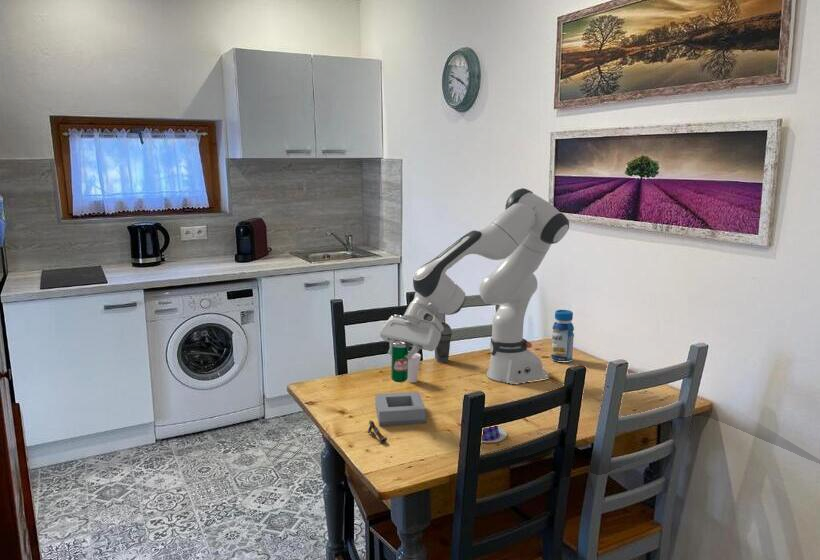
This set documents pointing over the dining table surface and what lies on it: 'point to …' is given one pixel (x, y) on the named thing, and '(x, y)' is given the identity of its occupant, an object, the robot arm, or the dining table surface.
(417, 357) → the smoothie
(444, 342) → the beverage cup
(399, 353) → the soda can
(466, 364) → the dining table surface
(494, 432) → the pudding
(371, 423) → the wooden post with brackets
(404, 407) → the block
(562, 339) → the beverage bottle
